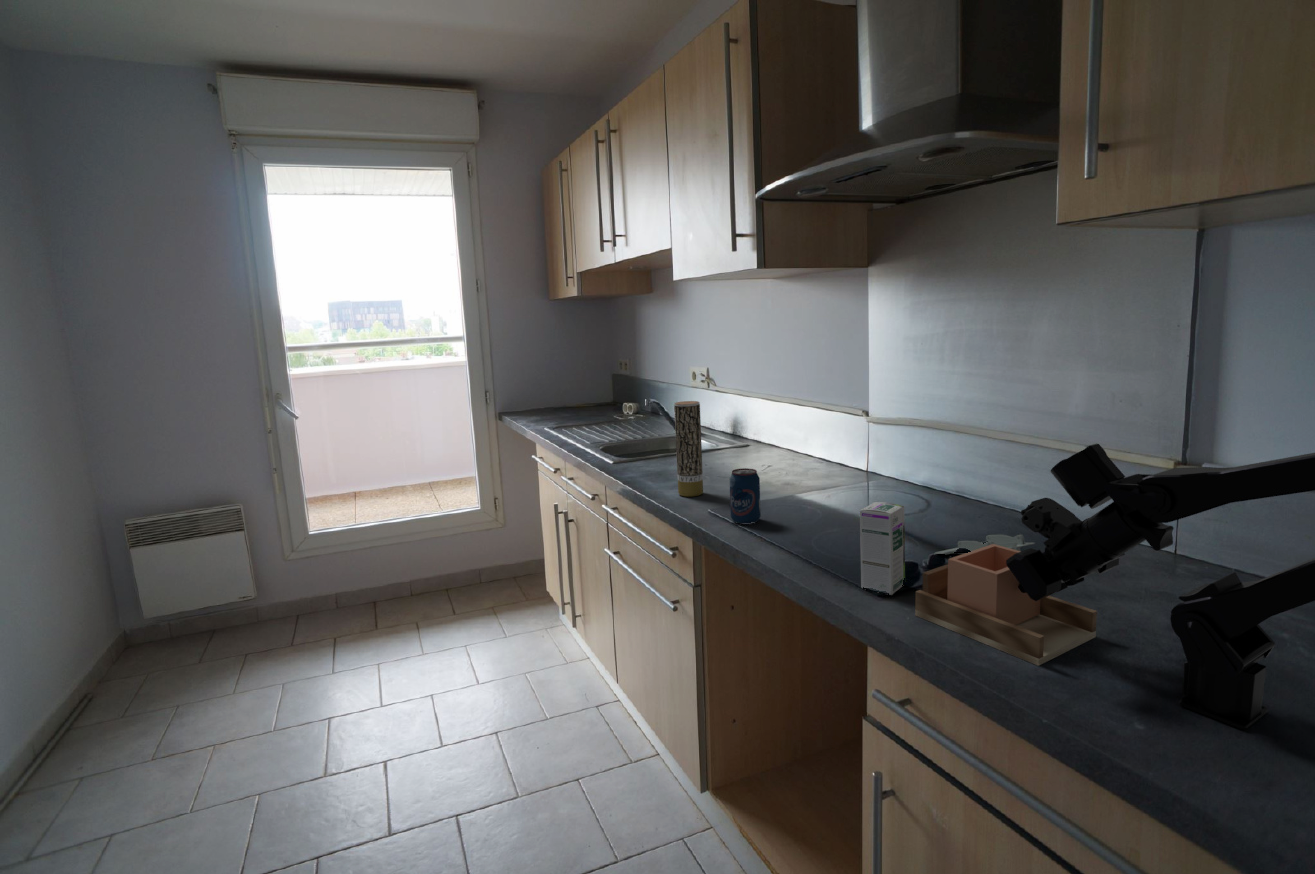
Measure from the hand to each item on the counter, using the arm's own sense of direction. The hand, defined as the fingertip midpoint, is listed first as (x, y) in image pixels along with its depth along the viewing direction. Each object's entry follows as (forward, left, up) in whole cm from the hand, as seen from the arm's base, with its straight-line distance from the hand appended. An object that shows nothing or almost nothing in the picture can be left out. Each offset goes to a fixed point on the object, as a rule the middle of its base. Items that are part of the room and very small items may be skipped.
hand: (1021, 589), depth 103 cm
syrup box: (+24, +2, -7) cm, 25 cm away
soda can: (+70, -4, -7) cm, 70 cm away
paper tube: (+99, -8, -7) cm, 99 cm away
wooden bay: (+3, 0, -7) cm, 7 cm away
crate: (+4, 0, -5) cm, 7 cm away
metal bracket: (+22, -25, -7) cm, 34 cm away
